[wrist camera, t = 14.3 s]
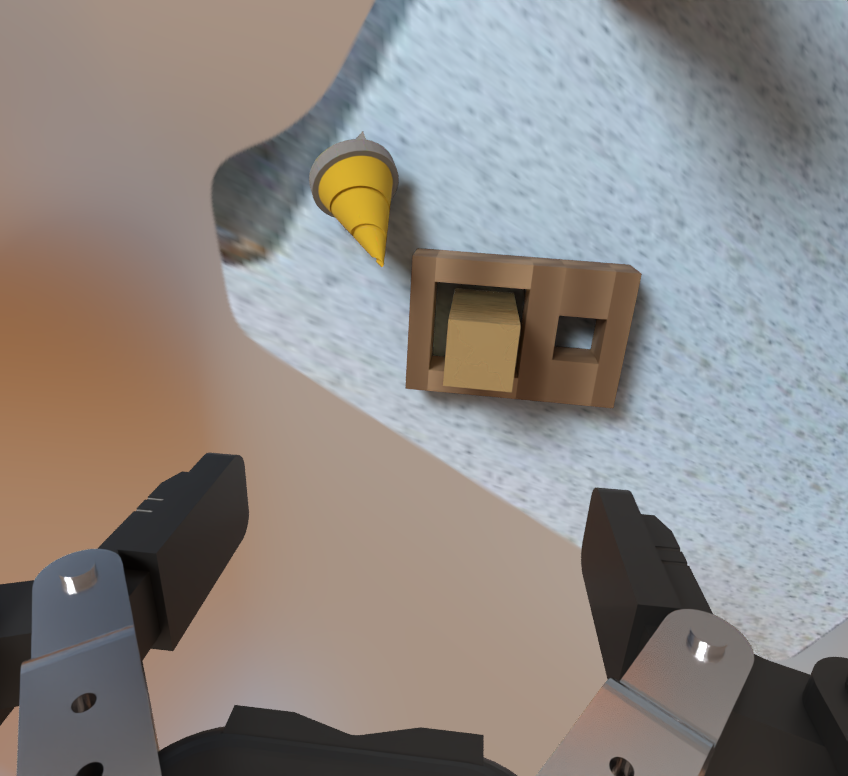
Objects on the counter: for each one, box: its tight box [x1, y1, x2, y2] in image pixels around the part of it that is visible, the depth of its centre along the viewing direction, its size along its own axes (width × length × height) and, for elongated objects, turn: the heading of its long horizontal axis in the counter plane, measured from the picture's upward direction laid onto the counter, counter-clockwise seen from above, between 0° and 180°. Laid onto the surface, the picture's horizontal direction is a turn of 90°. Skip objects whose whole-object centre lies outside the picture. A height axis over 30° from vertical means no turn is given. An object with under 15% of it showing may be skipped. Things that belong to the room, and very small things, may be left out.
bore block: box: [406, 248, 642, 408], centre depth 38 cm, size 14×9×3 cm, turn 87°
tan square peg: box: [443, 288, 521, 392], centre depth 36 cm, size 4×4×8 cm
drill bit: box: [309, 132, 398, 267], centre depth 34 cm, size 5×5×10 cm
